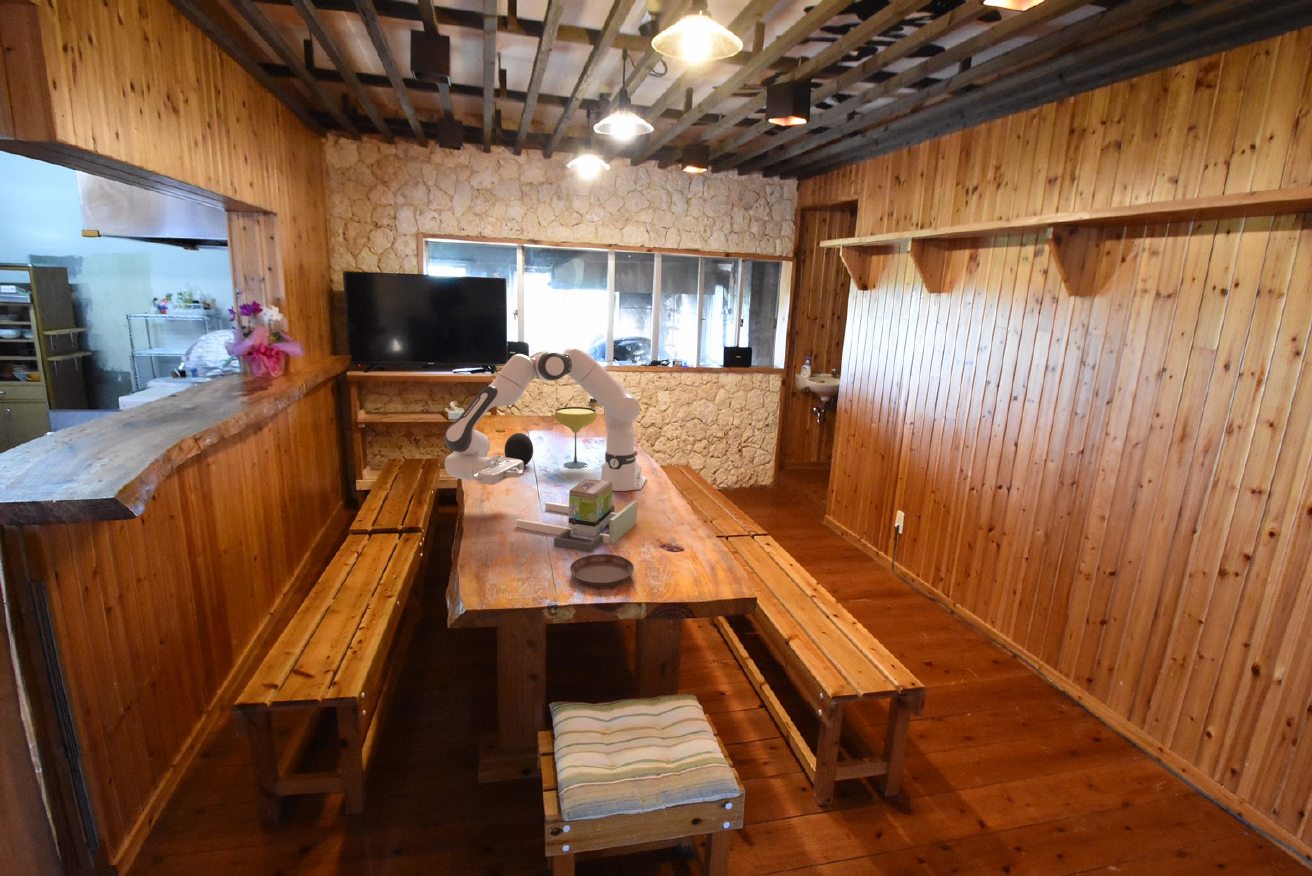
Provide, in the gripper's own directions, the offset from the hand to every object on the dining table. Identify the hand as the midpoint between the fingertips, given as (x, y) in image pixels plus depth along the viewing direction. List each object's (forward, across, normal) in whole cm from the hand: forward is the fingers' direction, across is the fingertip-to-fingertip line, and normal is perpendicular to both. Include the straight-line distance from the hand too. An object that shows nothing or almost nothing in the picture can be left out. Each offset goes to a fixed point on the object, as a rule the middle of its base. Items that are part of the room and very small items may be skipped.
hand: (521, 474), depth 219 cm
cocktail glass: (-12, +64, +15) cm, 67 cm away
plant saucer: (+46, -34, +15) cm, 59 cm away
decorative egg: (-33, +51, +15) cm, 62 cm away
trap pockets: (+26, -3, +15) cm, 30 cm away
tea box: (+27, -2, +15) cm, 31 cm away
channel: (+22, -2, +15) cm, 27 cm away
